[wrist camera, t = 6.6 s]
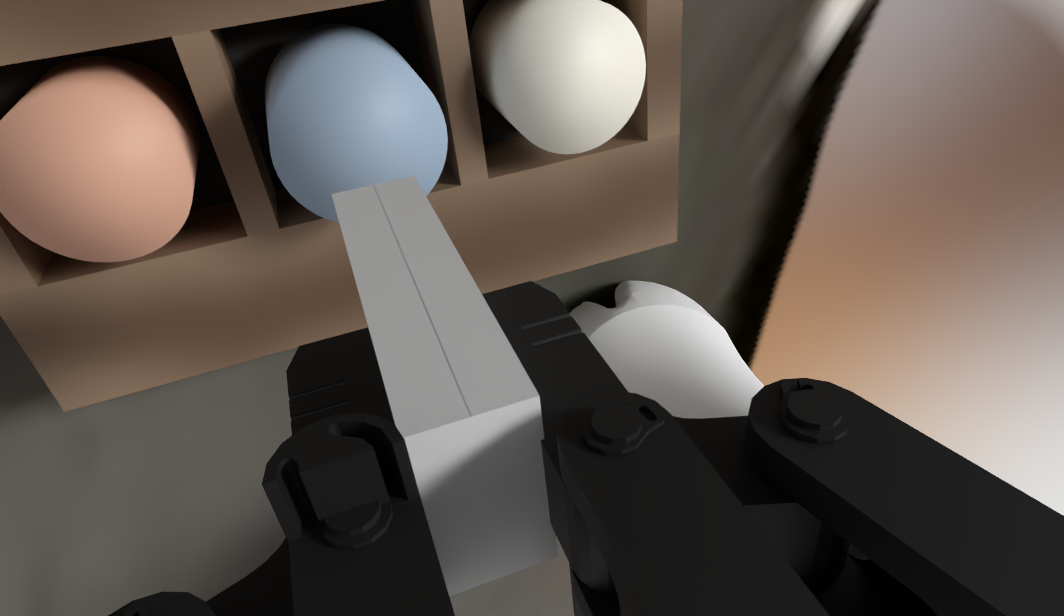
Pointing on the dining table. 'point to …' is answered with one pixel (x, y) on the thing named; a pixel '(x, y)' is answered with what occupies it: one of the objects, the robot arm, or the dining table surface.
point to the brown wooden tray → (300, 235)
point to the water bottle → (669, 351)
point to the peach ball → (99, 160)
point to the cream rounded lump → (559, 69)
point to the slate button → (349, 117)
